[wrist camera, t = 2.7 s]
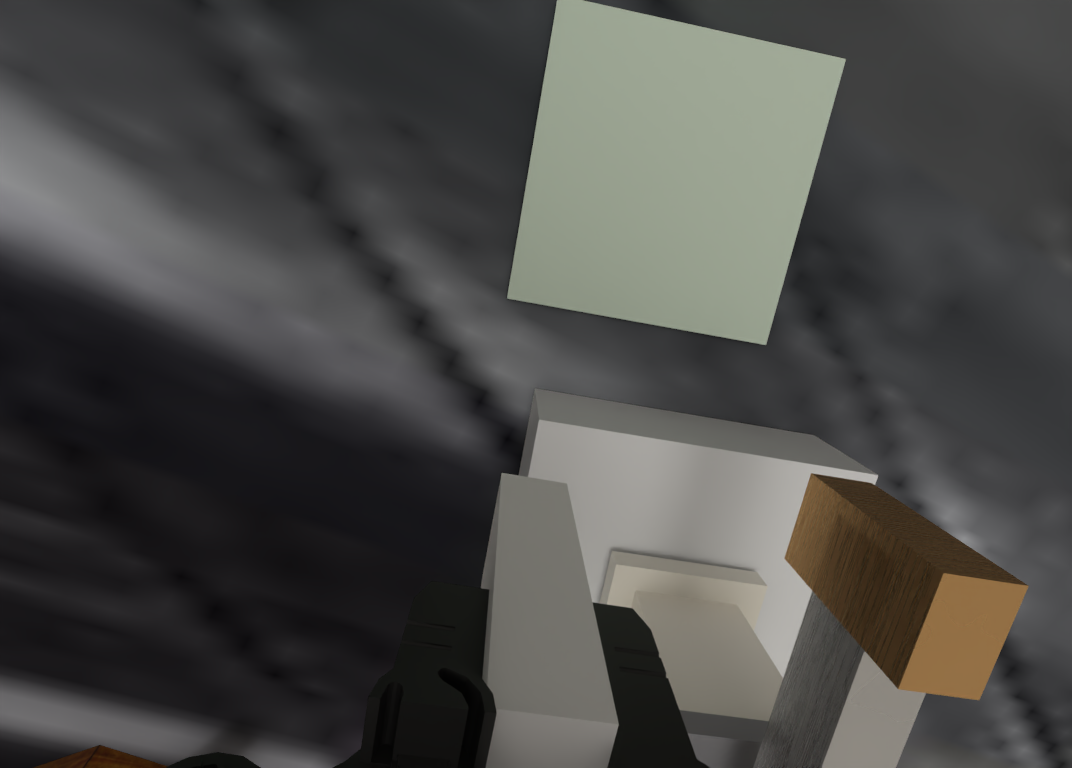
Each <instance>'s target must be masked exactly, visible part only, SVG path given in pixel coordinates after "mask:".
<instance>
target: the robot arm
mask: <svg viewBox="0 0 1072 768" xmlns="http://www.w3.org/2000/svg"><path fill="white" fill-rule="evenodd" d="M166 768H260V767H259V766H257V765H256V764H254V763H253V762H251V761H250V760H248V759H247V758H245V757H244V756H238V755H232V754H225V753H219V752H217V753H211V754H205V755H199V756H193V757H188V758H186V759H184V760H181V761H179V762H177V763H175V764H172V765H170V766H168V767H166ZM333 768H710V767H709V766H707V765H706V764H704V763H702V762H701V761H699V760H697V758H696V755H695V753H694V750H693V747H692V744H691V741H690V738H689V736H688V733H687V730H686V727H685V724H684V721H683V719H682V716H681V713H680V710H679V707H678V705H677V702H676V699H675V696H674V693H673V690H672V688H671V685H670V682H669V679H668V678H666V671H665V668H664V665H663V662H662V659H661V658H660V657H659V651H658V648H657V645H656V642H655V640H654V637H653V634H652V631H651V629H650V628H649V627H648V626H647V624H646V623H645V622H644V621H643V620H642V619H641V617H640V616H639V615H638V614H637V613H636V612H635V610H634V609H633V608H628V607H621V606H614V605H607V604H600V603H593V602H592V598H591V593H590V589H589V584H588V579H587V575H586V570H585V565H584V561H583V556H582V551H581V547H580V542H579V537H578V533H577V528H576V524H575V519H574V514H573V510H572V505H571V500H570V496H569V491H568V486H567V483H561V482H555V481H549V480H543V479H536V478H530V477H524V476H518V475H512V474H506V473H502V474H501V479H500V484H499V490H498V495H497V501H496V506H495V511H494V517H493V522H492V528H491V533H490V538H489V544H488V549H487V555H486V560H485V565H484V571H483V576H482V583H481V588H475V587H469V586H462V585H455V584H448V583H441V582H434V581H431V582H430V583H429V584H428V585H427V586H426V587H425V588H424V589H423V590H422V591H421V592H420V593H419V594H418V595H417V596H416V597H415V598H414V600H413V604H412V607H411V611H410V614H409V617H408V621H407V625H406V627H405V631H404V634H403V638H402V642H401V644H400V648H399V651H398V655H397V658H396V661H395V665H394V668H393V669H392V670H391V671H389V672H388V673H386V674H385V675H384V676H382V677H381V678H380V679H379V680H378V682H377V683H376V685H375V687H374V688H373V690H372V692H371V693H370V695H369V697H368V703H367V710H366V717H365V724H364V731H363V739H362V746H361V749H360V750H359V751H358V752H356V753H355V754H354V755H353V756H351V757H350V758H349V759H348V760H346V761H345V762H343V763H341V764H339V765H337V766H335V767H333Z"/></svg>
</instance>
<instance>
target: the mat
mask: <svg viewBox="0 0 1072 768" xmlns="http://www.w3.org/2000/svg"><path fill="white" fill-rule="evenodd" d="M845 61H846V59H843V58H838V57H834V56H829V55H825V54H820V53H816V52H811V51H807V50H802V49H798V48H793V47H789V46H785V45H780V44H776V43H771V42H767V41H762V40H758V39H753V38H749V37H744V36H740V35H735V34H731V33H726V32H722V31H717V30H713V29H709V28H704V27H700V26H695V25H691V24H686V23H682V22H677V21H673V20H668V19H664V18H659V17H655V16H650V15H646V14H641V13H637V12H632V11H628V10H624V9H619V8H615V7H610V6H606V5H601V4H597V3H592V2H588V1H583V0H557V4H556V10H555V16H554V22H553V28H552V34H551V40H550V46H549V52H548V58H547V64H546V70H545V76H544V82H543V87H542V93H541V99H540V105H539V111H538V117H537V123H536V129H535V135H534V141H533V147H532V153H531V159H530V165H529V171H528V177H527V183H526V188H525V194H524V200H523V206H522V212H521V218H520V224H519V230H518V236H517V242H516V248H515V254H514V260H513V266H512V272H511V278H510V283H509V289H508V295H507V299H513V300H518V301H524V302H529V303H535V304H541V305H546V306H552V307H557V308H563V309H568V310H574V311H579V312H585V313H591V314H596V315H602V316H607V317H613V318H618V319H624V320H629V321H635V322H641V323H646V324H652V325H657V326H663V327H668V328H674V329H680V330H685V331H691V332H696V333H702V334H707V335H713V336H718V337H724V338H730V339H735V340H741V341H746V342H752V343H757V344H763V345H766V343H767V339H768V336H769V332H770V329H771V325H772V321H773V318H774V314H775V311H776V307H777V304H778V300H779V296H780V293H781V289H782V286H783V282H784V279H785V275H786V271H787V268H788V264H789V261H790V257H791V254H792V250H793V246H794V243H795V239H796V236H797V232H798V229H799V225H800V221H801V218H802V214H803V211H804V207H805V203H806V200H807V196H808V193H809V189H810V186H811V182H812V178H813V175H814V171H815V168H816V164H817V161H818V157H819V153H820V150H821V146H822V143H823V139H824V136H825V132H826V128H827V125H828V121H829V118H830V114H831V111H832V107H833V103H834V100H835V96H836V93H837V89H838V86H839V82H840V78H841V75H842V71H843V68H844V64H845Z"/></svg>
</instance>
